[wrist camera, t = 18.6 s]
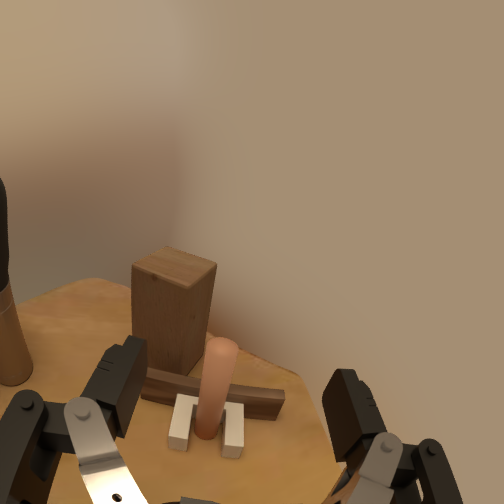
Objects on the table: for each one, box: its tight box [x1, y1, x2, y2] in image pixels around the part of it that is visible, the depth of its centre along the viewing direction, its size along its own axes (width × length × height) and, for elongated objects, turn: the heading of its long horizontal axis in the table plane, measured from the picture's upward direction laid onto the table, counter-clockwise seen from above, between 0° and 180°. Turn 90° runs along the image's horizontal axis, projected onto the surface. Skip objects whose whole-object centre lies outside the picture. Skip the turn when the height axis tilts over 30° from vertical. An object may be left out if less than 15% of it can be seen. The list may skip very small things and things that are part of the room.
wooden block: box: [131, 247, 217, 376], centre depth 45 cm, size 10×10×20 cm
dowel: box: [194, 337, 239, 440], centre depth 33 cm, size 4×4×18 cm
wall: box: [140, 367, 285, 420], centre depth 39 cm, size 2×22×6 cm, turn 91°
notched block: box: [168, 394, 244, 458], centre depth 35 cm, size 8×10×4 cm
